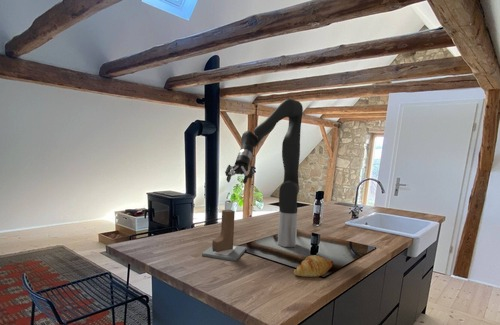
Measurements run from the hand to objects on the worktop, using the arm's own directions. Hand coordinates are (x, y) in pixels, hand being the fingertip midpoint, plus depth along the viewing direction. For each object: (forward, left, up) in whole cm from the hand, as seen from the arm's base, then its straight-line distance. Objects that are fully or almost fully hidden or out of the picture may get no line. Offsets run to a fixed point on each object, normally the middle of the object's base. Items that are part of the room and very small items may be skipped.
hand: (236, 182), depth 145 cm
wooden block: (+1, +13, -31) cm, 33 cm away
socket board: (-1, +13, -32) cm, 34 cm away
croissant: (-41, +19, -32) cm, 56 cm away
